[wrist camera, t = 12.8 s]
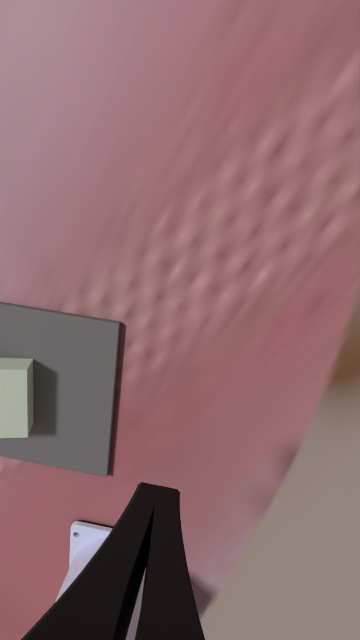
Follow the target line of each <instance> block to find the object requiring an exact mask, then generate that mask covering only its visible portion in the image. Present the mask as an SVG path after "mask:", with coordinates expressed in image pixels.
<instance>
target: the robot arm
mask: <svg viewBox="0 0 360 640" xmlns="http://www.w3.org/2000/svg"><path fill="white" fill-rule="evenodd" d="M21 640H205V638H204V634H203V631H202V627H201V623H200V620H199V616H198V612H197V608H196V604H195V600H194V595H193V591H192V586H191V582H190V577H189V572H188V567H187V562H186V556H185V550H184V544H183V537H182V530H181V520H180V492H179V491H178V490H177V489H173V488H168V487H163V486H158V485H153V484H148V483H143V482H142V483H140V484H138V486H137V489H136V491H135V493H134V495H133V497H132V498H131V500H130V502H129V504H128V505H127V507H126V509H125V510H124V512H123V514H122V515H121V517H120V518H119V520H118V521H117V523H116V524H115V526H114V527H113V528H109V527H104V526H99V525H95V524H90V523H85V522H80V521H75V522H74V523H73V524H72V526H71V535H70V560H69V571H68V573H67V575H66V578H65V580H64V582H63V585H62V587H61V589H60V591H59V594H58V596H57V598H56V601H55V603H54V604H53V606H52V607H51V608H50V609H49V610H48V611H47V612H46V613H45V614H44V615H43V617H42V618H41V619H40V620H39V621H38V622H37V623H36V624H35V625H34V626H33V627H32V629H31V630H30V631H29V632H28V633H27V634H26V635H25V636H24V637H23V638H22V639H21Z"/></svg>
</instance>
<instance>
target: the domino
mask: <svg viewBox="0 0 360 640" xmlns="http://www.w3.org/2000/svg"><path fill="white" fill-rule="evenodd" d="M33 423H34V417H33V359H25V358H0V438H28V436H29V433H30V430H31V428H32V425H33Z"/></svg>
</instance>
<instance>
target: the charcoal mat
mask: <svg viewBox="0 0 360 640" xmlns="http://www.w3.org/2000/svg"><path fill="white" fill-rule="evenodd" d="M120 326H121V322H119V321H113V320H107V319H101V318H95V317H89V316H83V315H77V314H70V313H64V312H58V311H52V310H46V309H40V308H34V307H28V306H22V305H16V304H10V303H4V302H0V358H25V359H33V417H34V423H33V425H32V428H31V430H30V433H29V436H28V438H0V456H2V457H7V458H12V459H17V460H22V461H27V462H32V463H37V464H42V465H47V466H52V467H57V468H62V469H67V470H72V471H77V472H82V473H87V474H92V475H97V476H102V477H107V475H108V472H109V460H110V447H111V435H112V423H113V411H114V399H115V387H116V375H117V362H118V350H119V338H120Z"/></svg>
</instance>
